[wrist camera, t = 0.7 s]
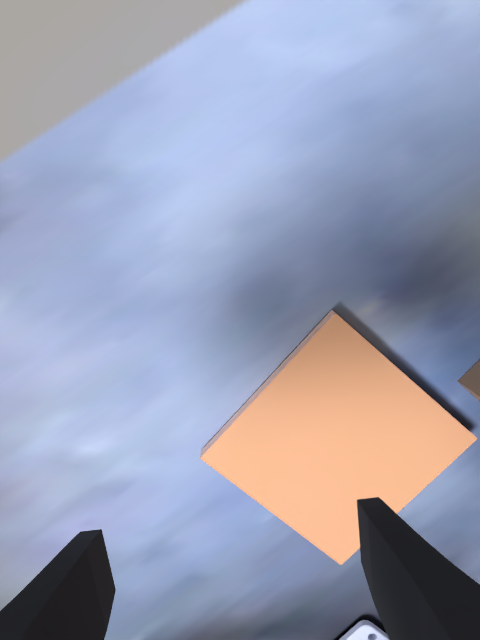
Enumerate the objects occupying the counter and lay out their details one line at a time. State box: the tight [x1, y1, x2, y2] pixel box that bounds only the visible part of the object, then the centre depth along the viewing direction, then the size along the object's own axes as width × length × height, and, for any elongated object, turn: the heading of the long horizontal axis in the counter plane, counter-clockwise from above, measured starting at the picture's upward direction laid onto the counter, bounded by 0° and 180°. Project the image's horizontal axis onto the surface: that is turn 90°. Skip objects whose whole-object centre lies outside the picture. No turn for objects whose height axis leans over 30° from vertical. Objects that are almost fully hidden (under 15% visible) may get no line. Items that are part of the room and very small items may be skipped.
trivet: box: [200, 310, 477, 565], centre depth 21 cm, size 10×10×1 cm
